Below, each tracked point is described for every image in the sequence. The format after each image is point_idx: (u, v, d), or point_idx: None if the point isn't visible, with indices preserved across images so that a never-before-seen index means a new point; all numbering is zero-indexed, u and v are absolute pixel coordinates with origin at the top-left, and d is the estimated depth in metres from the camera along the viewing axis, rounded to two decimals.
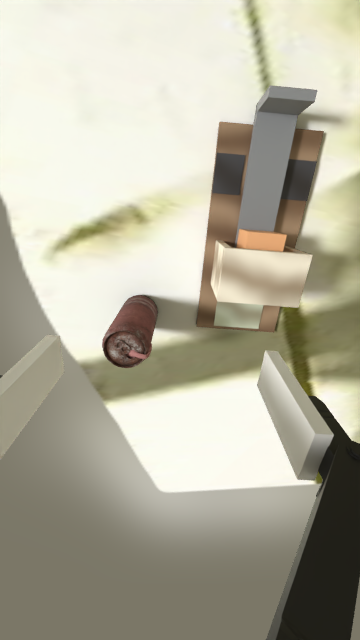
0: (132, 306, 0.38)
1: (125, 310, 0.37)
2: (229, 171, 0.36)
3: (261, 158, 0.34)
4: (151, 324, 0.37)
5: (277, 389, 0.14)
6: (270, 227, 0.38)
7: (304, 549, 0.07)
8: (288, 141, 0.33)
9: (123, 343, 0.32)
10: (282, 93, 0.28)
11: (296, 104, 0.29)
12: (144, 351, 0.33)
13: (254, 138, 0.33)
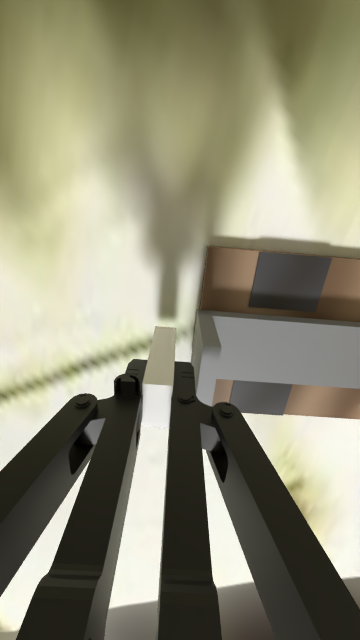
0: None
1: None
2: (255, 392, 0.22)
3: (271, 365, 0.19)
4: None
5: None
6: None
7: (165, 503, 0.07)
8: (250, 325, 0.18)
9: None
10: (205, 401, 0.15)
11: None
12: None
13: (240, 378, 0.20)
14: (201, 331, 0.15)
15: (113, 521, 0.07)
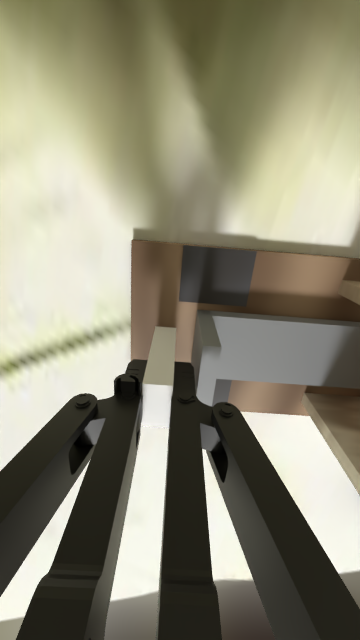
0: None
1: None
2: None
3: (271, 365, 0.19)
4: None
5: None
6: None
7: (165, 503, 0.07)
8: (250, 325, 0.18)
9: None
10: (205, 401, 0.15)
11: None
12: None
13: (240, 378, 0.20)
14: (201, 331, 0.15)
15: (113, 521, 0.07)
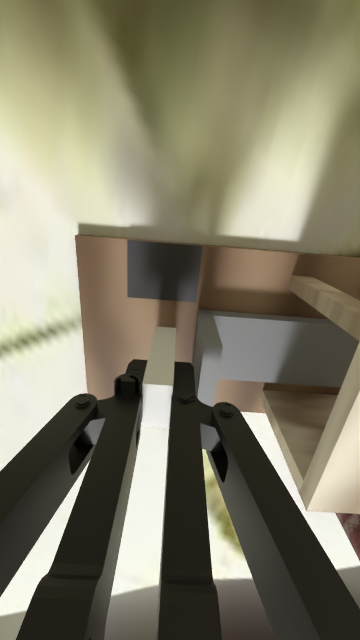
0: None
1: None
2: None
3: (272, 365, 0.19)
4: None
5: None
6: None
7: (165, 503, 0.07)
8: (252, 325, 0.18)
9: None
10: (206, 401, 0.15)
11: None
12: None
13: (241, 378, 0.20)
14: (202, 331, 0.15)
15: (113, 521, 0.07)
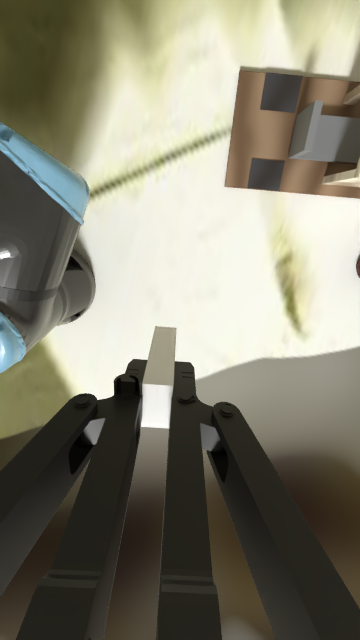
0: None
1: None
2: (263, 174, 0.39)
3: (334, 148, 0.37)
4: None
5: None
6: None
7: (165, 503, 0.07)
8: (326, 119, 0.35)
9: None
10: (311, 136, 0.33)
11: None
12: None
13: (317, 157, 0.37)
14: (309, 105, 0.33)
15: (113, 521, 0.07)
